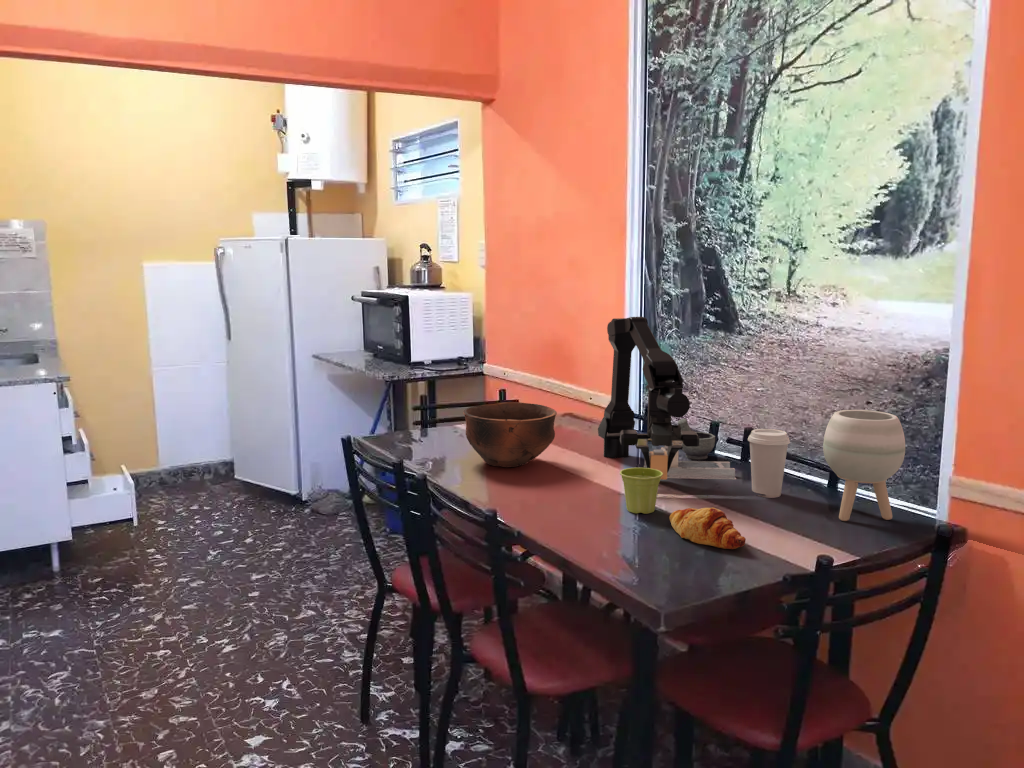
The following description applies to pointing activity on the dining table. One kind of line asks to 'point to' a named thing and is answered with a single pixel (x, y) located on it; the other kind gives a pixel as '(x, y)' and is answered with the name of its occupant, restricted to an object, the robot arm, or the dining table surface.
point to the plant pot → (641, 488)
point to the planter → (864, 453)
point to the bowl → (509, 431)
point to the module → (659, 462)
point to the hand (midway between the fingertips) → (657, 472)
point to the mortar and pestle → (704, 443)
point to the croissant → (706, 527)
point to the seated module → (675, 459)
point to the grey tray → (701, 470)
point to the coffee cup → (768, 461)
